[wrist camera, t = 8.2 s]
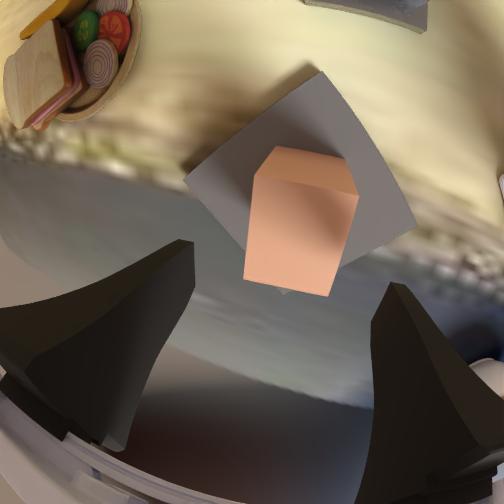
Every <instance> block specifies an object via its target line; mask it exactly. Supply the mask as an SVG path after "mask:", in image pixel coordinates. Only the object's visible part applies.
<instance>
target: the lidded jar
mask: <svg viewBox="0 0 504 504" xmlns="http://www.w3.org/2000/svg"><path fill="white" fill-rule="evenodd" d="M469 367H470V368H471V369H472V370H473V371H474V372H475V373H476V374H477V375H478V376H479V377H480V378H481V379H482V380H483V381H484V382H485V383H486V384H487V385H488V386H489V387H490V388H491V389H492V390H493V391H494V392H495V393H496V394H498V395H499V396H500V397H501V398H502V399H503V400H504V363H503V362H500V361H495V360H494V359H493V358H484V359H481V360H478V361H476V362H474V363H472V364H470V365H469Z"/></svg>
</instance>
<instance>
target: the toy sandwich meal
mask: <svg viewBox="0 0 504 504" xmlns="http://www.w3.org/2000/svg"><path fill="white" fill-rule="evenodd" d="M140 35H141V11H140V7H139V3H138V0H56V1H55V2H54V3H53V4H52V5H51V6H50V7H49V8H48V9H46V10H45V11H44V12H43V13H42V14H40V15H39V16H38V17H37V18H36V19H35V20H34V21H32V22H31V23H30V24H29V25H28V26H27V27H26V28H25V29H24V30H23V31H22V32H21V33H20V39H21V40H24V39H28V38H29V39H28V40H27V41H26V42H25V43H24V44H23V45H22V46H21V48H20V49H19V50H18V51H17V52H16V53H15V54H14V55H11V56H9V58H8V59H7V61H6V64H5V68H4V77H3V87H4V97H5V102H6V106H7V110H8V113H9V116H10V118H11V120H12V122H13V124H14V125H15V126H16V127H17V128H18V129H24V128H28V127H29V126H30V125H31V126H32V127H33V128H34V129H35V130H37V131H41V130H45V129H47V127H48V126H49V123H50V122H51V120H52V119H53V118H54V117H56V118H57V119H59V120H62V121H66V122H76V121H81V120H84V119H87V118H89V117H91V116H93V115H94V114H96V113H97V112H99V111H100V110H101V109H102V108H103V107H104V106H106V105H107V104H108V103H109V101H110V100H111V99H112V98H113V97H114V96H115V94H116V93H117V92H118V90H119V89H120V87H121V86H122V84H123V82H124V81H125V79H126V77H127V75H128V73H129V71H130V69H131V67H132V64H133V62H134V59H135V56H136V53H137V49H138V46H139V41H140Z"/></svg>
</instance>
